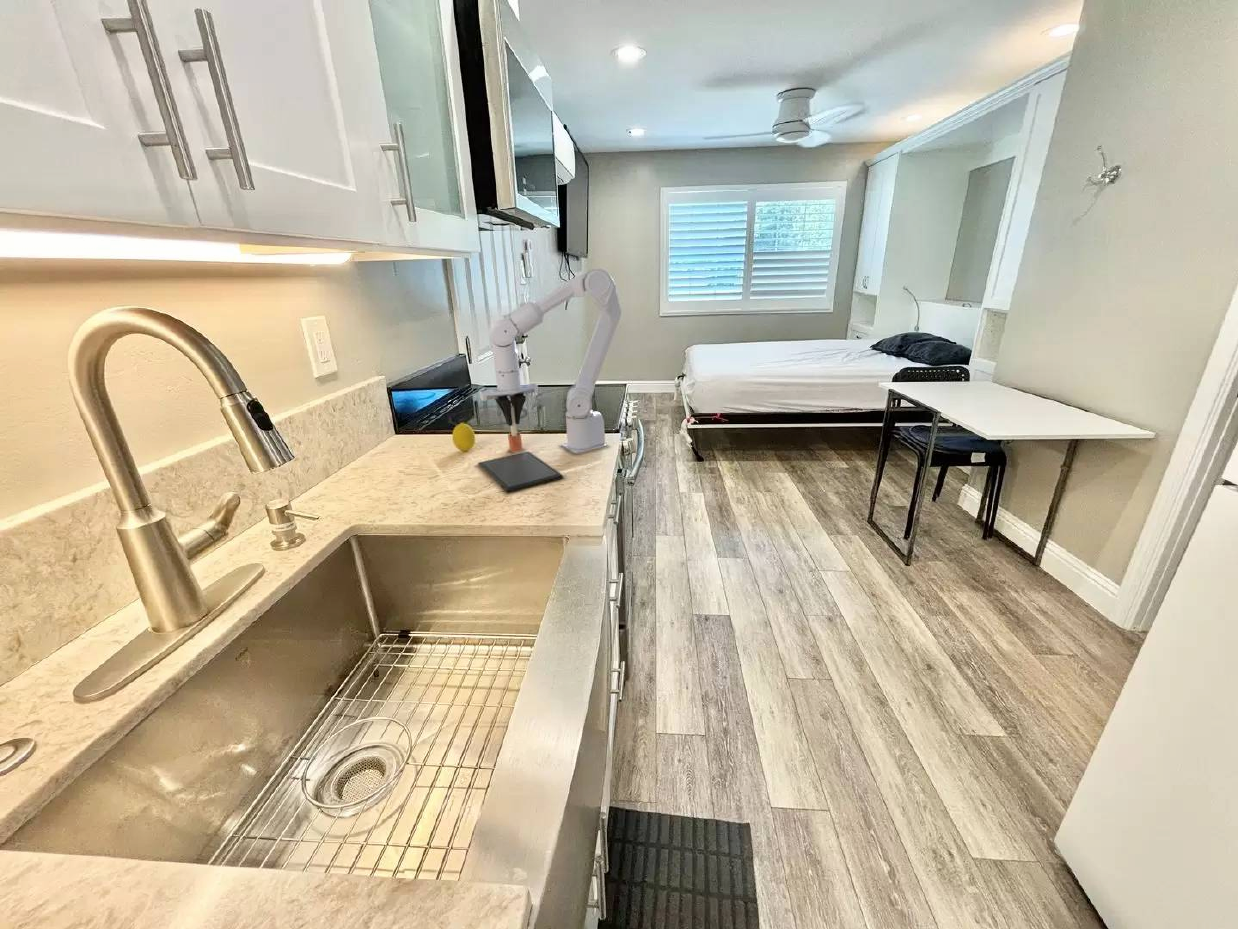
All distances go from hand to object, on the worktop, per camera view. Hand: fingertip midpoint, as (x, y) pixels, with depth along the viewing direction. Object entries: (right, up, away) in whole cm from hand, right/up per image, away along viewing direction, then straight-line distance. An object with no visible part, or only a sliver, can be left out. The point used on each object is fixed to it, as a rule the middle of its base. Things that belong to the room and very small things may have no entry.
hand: (513, 423), depth 125 cm
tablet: (+4, -12, -11) cm, 17 cm away
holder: (0, -7, +3) cm, 7 cm away
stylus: (0, -4, +2) cm, 4 cm away
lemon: (-13, -7, +3) cm, 15 cm away
